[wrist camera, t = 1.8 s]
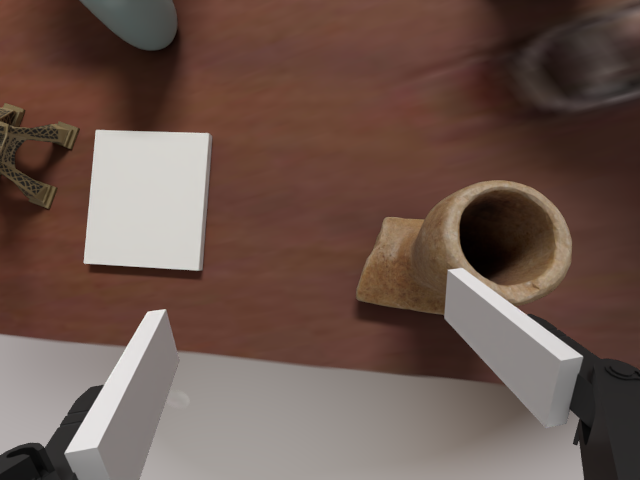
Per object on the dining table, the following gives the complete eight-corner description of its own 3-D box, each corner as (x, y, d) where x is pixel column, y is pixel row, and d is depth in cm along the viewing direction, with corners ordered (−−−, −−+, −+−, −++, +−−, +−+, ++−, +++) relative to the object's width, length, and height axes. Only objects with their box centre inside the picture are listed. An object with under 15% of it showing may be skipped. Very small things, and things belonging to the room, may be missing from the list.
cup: (190, 1, 41) (141, -80, 31) (184, 63, 41) (132, 0, 31) (130, 0, 42) (64, -80, 32) (124, 60, 42) (54, -2, 32)
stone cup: (506, 215, 37) (614, 187, 22) (491, 322, 37) (591, 366, 22) (370, 195, 38) (385, 155, 24) (353, 298, 38) (359, 324, 23)
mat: (101, 133, 41) (95, 130, 40) (212, 136, 40) (209, 133, 39) (90, 263, 41) (83, 263, 40) (202, 270, 39) (198, 270, 38)
